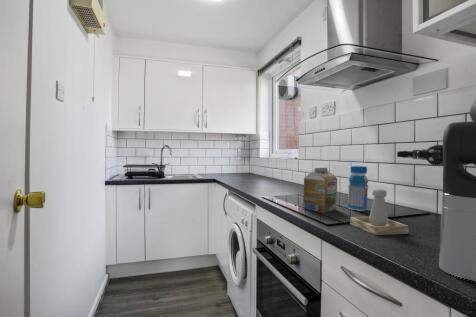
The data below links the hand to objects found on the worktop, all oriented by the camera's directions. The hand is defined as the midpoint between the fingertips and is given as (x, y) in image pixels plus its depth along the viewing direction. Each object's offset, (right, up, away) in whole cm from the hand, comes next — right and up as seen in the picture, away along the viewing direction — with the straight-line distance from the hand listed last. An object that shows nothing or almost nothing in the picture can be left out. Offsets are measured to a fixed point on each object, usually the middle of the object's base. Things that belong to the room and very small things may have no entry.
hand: (407, 154), depth 90 cm
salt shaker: (-11, -25, -2) cm, 28 cm away
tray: (-12, -26, -2) cm, 28 cm away
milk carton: (-23, -25, +27) cm, 43 cm away
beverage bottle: (-5, -25, +28) cm, 38 cm away
